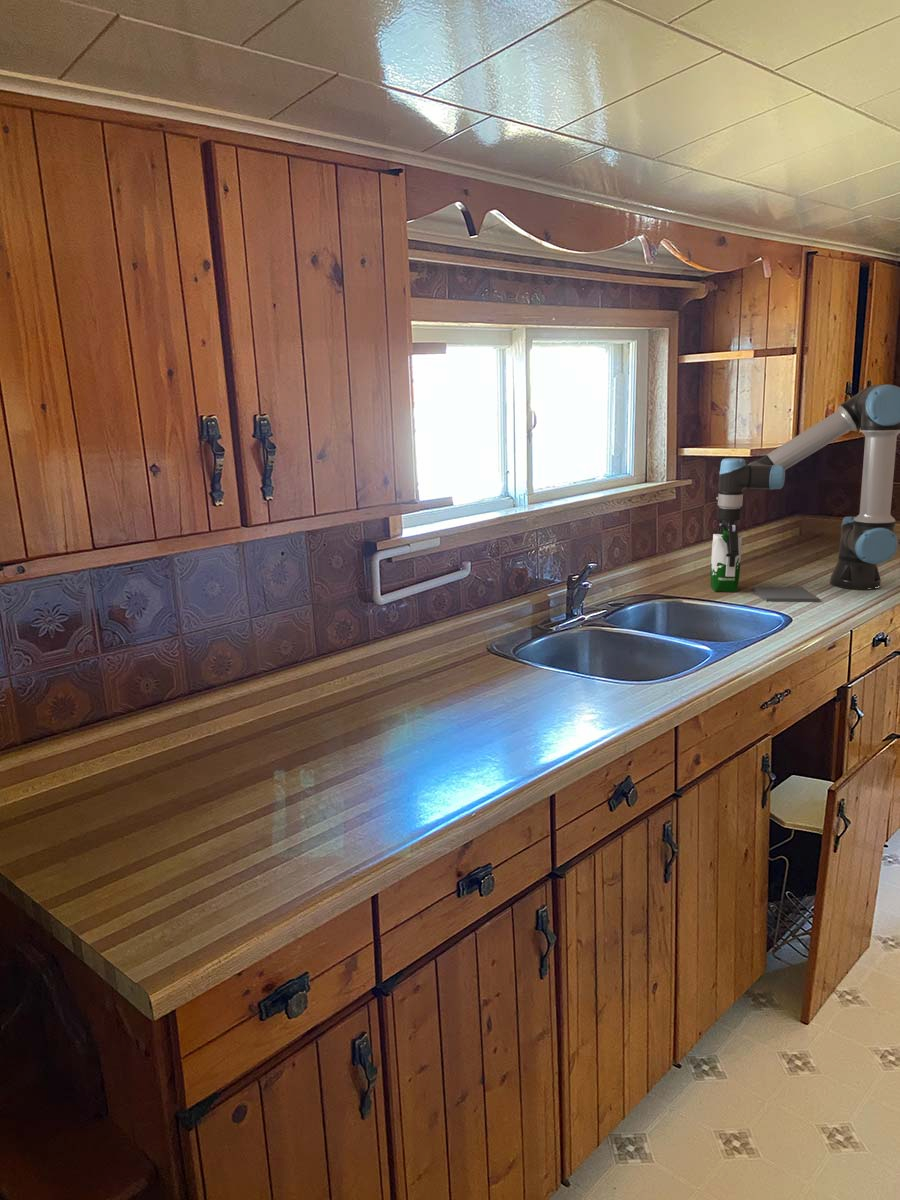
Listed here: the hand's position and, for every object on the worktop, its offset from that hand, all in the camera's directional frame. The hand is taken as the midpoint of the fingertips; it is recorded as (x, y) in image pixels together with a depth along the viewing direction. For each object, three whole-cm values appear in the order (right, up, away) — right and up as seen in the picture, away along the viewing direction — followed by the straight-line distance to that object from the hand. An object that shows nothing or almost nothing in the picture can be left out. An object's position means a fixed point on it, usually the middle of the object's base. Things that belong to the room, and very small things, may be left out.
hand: (724, 572), depth 273 cm
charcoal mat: (+17, -8, -7) cm, 20 cm away
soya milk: (0, -6, +1) cm, 6 cm away
